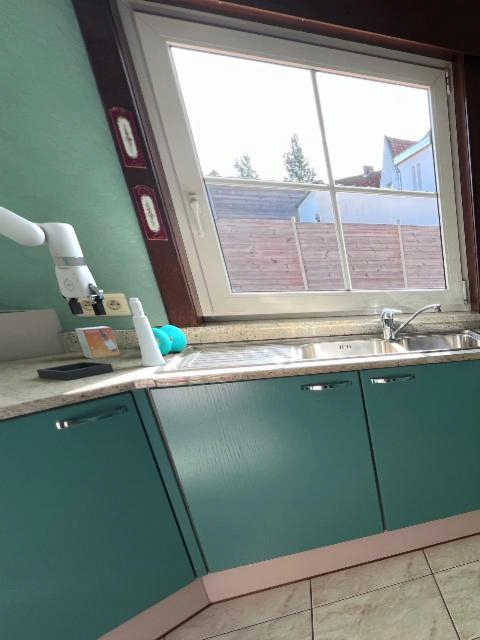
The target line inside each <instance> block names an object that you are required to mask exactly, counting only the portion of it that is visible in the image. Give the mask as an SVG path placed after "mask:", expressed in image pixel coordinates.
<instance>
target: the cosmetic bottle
mask: <svg viewBox="0 0 480 640" xmlns="http://www.w3.org/2000/svg"><path fill="white" fill-rule="evenodd" d="M128 299H129V301H128V303H129V306H130V310H131V313H132V315H133V316H132V322H133V326H134V329H135V333H136V337H137V341H138V345H139V349H140V354H141V360H142V361H141V362H142V366H144V367H159V366H163V365H166V364H167V362H166V360H165V358H164V356H163V355H162V354H161V352H160V350H159V348H158V345H157V343H158V342H157V343H156V341H157V339H156V340H155V337H154V335H153V332H152V329H151V328H152V327H151V324H150V321H149V319H148V317H147V316H146V315H145V312H144V309H143V306H142V302H141V301H140V300H139V297H129V298H128Z"/></svg>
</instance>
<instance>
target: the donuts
mask: <svg viewBox="0 0 480 640" xmlns="http://www.w3.org/2000/svg"><path fill="white" fill-rule="evenodd" d="M151 329H152V332H153V335H154V337H155V340H156V343H157V345H158V348H159V350H160V352H161V354H162V356H164V355H167V354H169V353H170V352H172V353H173V352H175V353H178V352H181V351H183V350H185V349H186V347H187V345H188V340H187V337H186V335H185V333H184V332H183V331H182V330H181V329H180V328H179V327H176V326H174V325H171V324H170V325H169V324H168V325H163V326H161V327H160V328H157V327H151ZM157 340H158V341H159V342H158V341H157ZM171 340H172V341H171Z"/></svg>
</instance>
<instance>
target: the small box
mask: <svg viewBox="0 0 480 640" xmlns="http://www.w3.org/2000/svg"><path fill="white" fill-rule="evenodd" d="M74 330H75V333H76V336H77V338H78V342H79V344H80V347H81V350H82V353H83V355H84V358H88V359H101V358H107V357H115V358H116V357H119V356H120V355H121V354H120V351H119V348H118V345H117V341H116V338H115V335H114V333H113V332H114V331H113V329H112V327H111V326H105V325H102V326H101V325H100V326H93V327H91V326H90V327H79V328H77V327H76V328H74Z"/></svg>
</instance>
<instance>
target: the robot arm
mask: <svg viewBox="0 0 480 640" xmlns="http://www.w3.org/2000/svg"><path fill="white" fill-rule="evenodd" d="M0 235H2V236H5V237H6V238H9V239H10V240H12V241H14V242H15V243H17V244H18V245H21V246H25V247H38V246H47V247H48V250H49V253H50V256H51V259H52V261H53V263H54V266H55V267H54V270H55V275H56V280H57V283H58V286H59V288H58V292H59V294H61V296H62V298H63V299H64V300H65V302H66V303H67V305H68V307H69V309H70V312H71V314H72V316H73V315H75V316H76V315H83V314H85V313H84V310H83V307H82V304H81V302H80V301H79V299H88V300H89V301H90V303H91V304H90V305H91V308H92V310H93V312H94V316H97V317H99V316H107V311H106V309H105V306H104V299H105V297H104V290H103V289H101V288H99V287H98V286H97V284H96V281H95V279H94V276H93V275H92V273H91V271H90V269H89V268H88V265H87V262H86V259H85V256H84V254H83V251H82V248H81V246H80V243H79V239H78V237H77V235H76V232H75V229H74V227H73V226H72V225H71V224H69V223H65V222H41V223H40V222H32V221H30V220H28V219H26V218H25V217H22V216H21V215H18V214H17V213H14V212H13V211H11V210H9V209H7V208H5V207H3V206H1V205H0Z"/></svg>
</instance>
